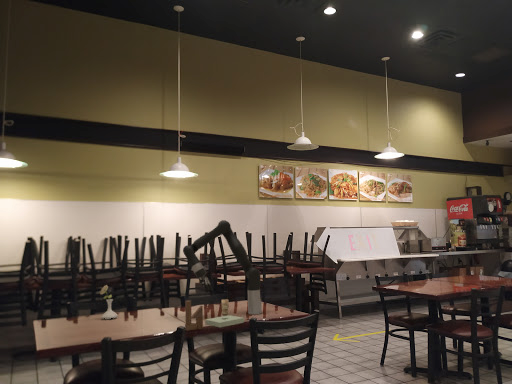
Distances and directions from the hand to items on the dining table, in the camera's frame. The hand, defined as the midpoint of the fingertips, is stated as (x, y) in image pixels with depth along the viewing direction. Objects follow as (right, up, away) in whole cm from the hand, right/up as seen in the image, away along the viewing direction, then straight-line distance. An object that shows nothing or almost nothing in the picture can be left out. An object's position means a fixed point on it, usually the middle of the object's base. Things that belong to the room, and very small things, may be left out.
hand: (209, 290), depth 301 cm
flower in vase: (-76, -24, +11) cm, 80 cm away
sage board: (+12, -17, -20) cm, 29 cm away
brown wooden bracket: (-6, -17, -36) cm, 40 cm away
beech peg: (+11, -19, -4) cm, 23 cm away
